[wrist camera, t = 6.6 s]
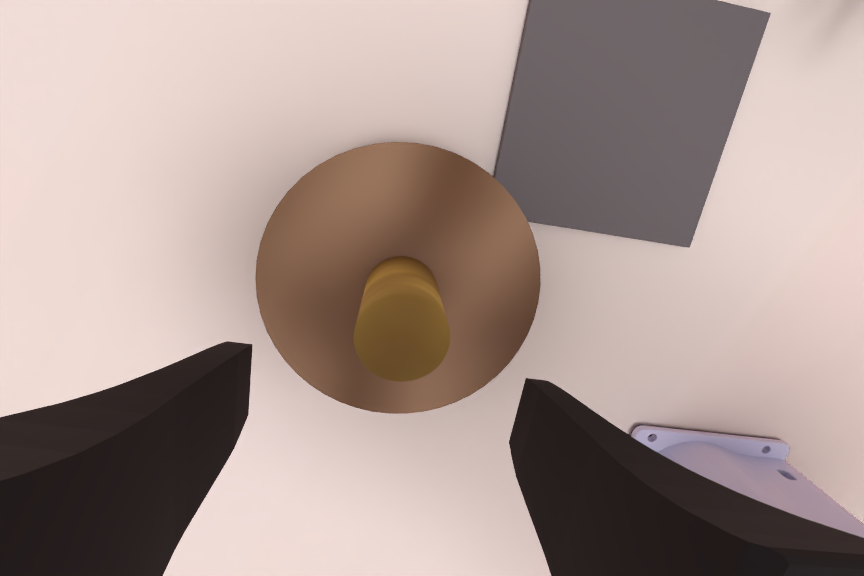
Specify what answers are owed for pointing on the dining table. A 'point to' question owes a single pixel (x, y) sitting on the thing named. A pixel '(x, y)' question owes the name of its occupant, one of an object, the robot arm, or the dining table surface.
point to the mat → (624, 112)
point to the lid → (398, 277)
